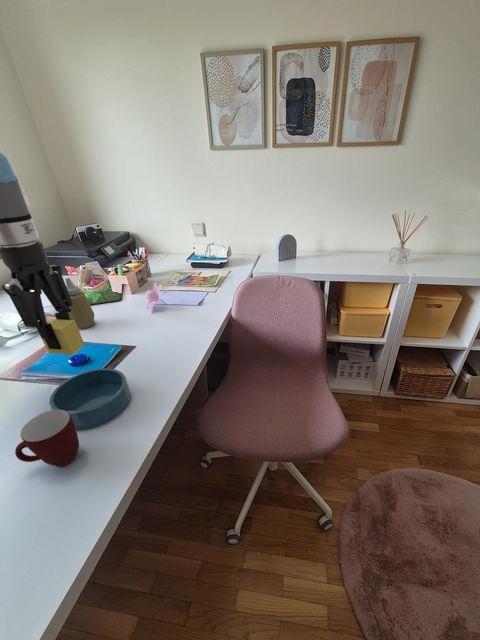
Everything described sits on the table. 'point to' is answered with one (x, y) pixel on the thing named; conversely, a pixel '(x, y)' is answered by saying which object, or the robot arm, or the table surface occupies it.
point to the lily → (153, 297)
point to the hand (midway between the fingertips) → (63, 342)
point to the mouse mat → (103, 296)
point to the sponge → (66, 337)
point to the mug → (50, 439)
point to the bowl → (92, 397)
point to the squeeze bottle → (79, 306)
